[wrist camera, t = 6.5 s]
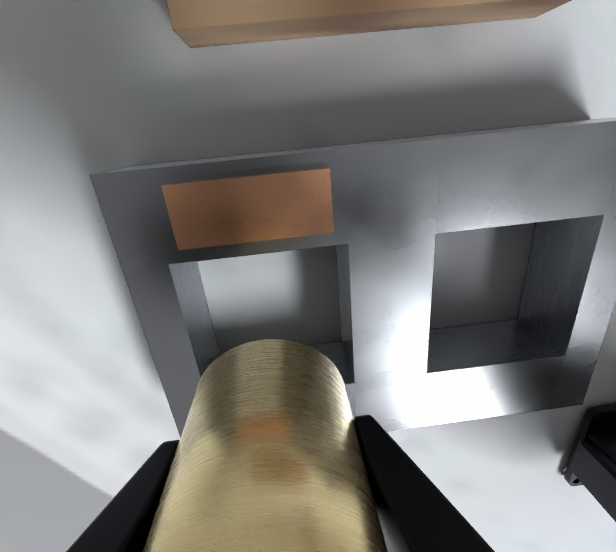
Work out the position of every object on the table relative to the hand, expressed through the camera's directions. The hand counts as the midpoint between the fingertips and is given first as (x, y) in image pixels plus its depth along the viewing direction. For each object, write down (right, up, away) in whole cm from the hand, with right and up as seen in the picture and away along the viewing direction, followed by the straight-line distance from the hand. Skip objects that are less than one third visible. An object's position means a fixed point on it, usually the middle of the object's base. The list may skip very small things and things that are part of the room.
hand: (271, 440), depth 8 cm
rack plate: (+4, +4, +7) cm, 9 cm away
